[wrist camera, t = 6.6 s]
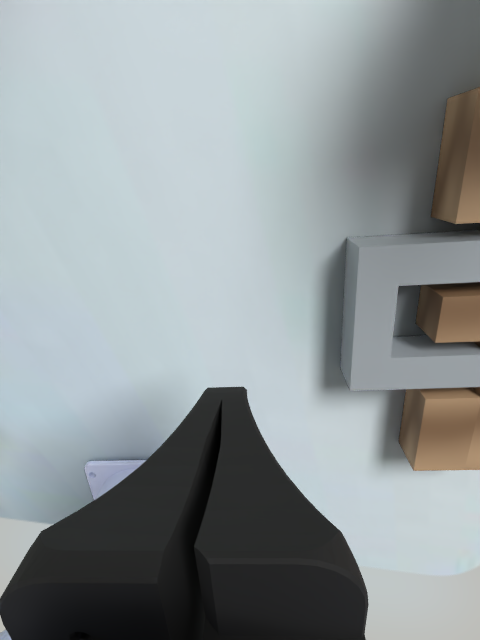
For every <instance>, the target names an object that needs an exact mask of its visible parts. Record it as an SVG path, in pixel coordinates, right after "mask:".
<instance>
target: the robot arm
mask: <svg viewBox="0 0 480 640" xmlns="http://www.w3.org/2000/svg"><path fill="white" fill-rule="evenodd" d="M84 470H85V473H86V476H87V479H88V483H89V486H90V489H91V492H92V496H93V499H94V501H92V502H91V503H89V504H88V505H86V506H85V507H83V508H81V509H80V510H78V511H77V512H75V513H73V514H71V515H70V516H68V517H66V518H64V519H63V520H61V521H59V522H57V523H56V524H54V525H52V526H50V527H49V528H47V529H45V530H43V531H41V533H40V534H39V536H38V537H37V539H36V540H35V542H34V543H33V545H32V546H31V547H30V549H29V551H28V552H27V554H26V556H25V557H24V559H23V560H22V562H21V564H20V566H19V567H18V569H17V571H16V573H15V574H14V576H13V578H12V579H11V581H10V583H9V584H8V586H7V588H6V590H5V591H4V593H3V595H2V596H1V598H0V615H1V618H2V622H3V625H4V626H5V628H6V630H4V631H3V632H1V633H0V640H365V635H364V633H365V625H366V618H367V610H368V595H367V590H366V587H365V583H364V581H363V578H362V575H361V572H360V570H359V567H358V565H357V563H356V560H355V558H354V556H353V554H352V552H351V550H350V548H349V546H348V544H347V542H346V540H345V538H344V536H343V534H342V532H341V531H340V530H338V529H337V528H336V527H335V526H334V525H333V524H332V523H331V522H330V521H328V520H327V519H326V518H325V517H324V516H323V515H322V514H321V513H320V512H319V511H318V510H317V509H316V508H315V507H314V506H313V505H312V504H311V503H310V502H309V501H308V499H307V498H306V497H305V496H304V495H303V494H302V493H301V491H300V490H299V489H298V488H297V487H296V486H295V484H294V483H293V482H292V481H291V480H290V478H289V477H288V476H287V475H286V473H285V472H284V470H283V469H282V468H281V466H280V465H279V463H278V462H277V460H276V459H275V457H274V456H273V454H272V453H271V451H270V449H269V448H268V446H267V444H266V443H265V441H264V439H263V437H262V435H261V433H260V431H259V429H258V427H257V425H256V422H255V420H254V418H253V415H252V413H251V410H250V407H249V403H248V399H247V390H246V389H245V388H244V387H219V388H207V389H206V390H205V391H204V393H203V394H202V396H201V397H200V399H199V400H198V401H197V403H196V404H195V406H194V407H193V408H192V410H191V411H190V412H189V414H188V415H187V416H186V418H185V419H184V420H183V421H182V423H181V424H180V425H179V426H178V428H177V429H176V430H175V431H174V432H173V433H172V434H171V436H170V437H169V438H168V439H167V440H166V441H165V442H164V443H163V444H162V446H161V447H160V448H159V449H158V450H157V451H156V452H155V453H154V454H153V455H152V456H150V457H149V458H148V459H147V460H115V461H89V462H87V464H86V465H85V467H84Z"/></svg>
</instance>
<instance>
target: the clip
mask: <svg viewBox="0 0 480 640" xmlns="http://www.w3.org/2000/svg"><path fill="white" fill-rule="evenodd" d="M468 282H480V230H468V231H451V232H434V233H416V234H399V235H382V236H365V237H347V246H346V266H345V285H344V305H343V325H342V344H341V364H340V368H341V371H342V373H343V375H344V378H345V380H346V382H347V385H348V387H349V390H350V391H365V390H397V389H429V388H461V387H480V347H479V346H478V345H476V344H475V343H474V342H447V343H435V342H434V341H433V340H432V339H431V338H430V337H429V336H428V335H422V336H398V337H393V332H394V323H395V314H396V305H397V296H398V287H399V286H407V285H427V284H448V283H468Z"/></svg>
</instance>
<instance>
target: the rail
mask: <svg viewBox="0 0 480 640" xmlns="http://www.w3.org/2000/svg"><path fill="white" fill-rule="evenodd" d="M431 217H433V218H437V219H440V220H444V221H447V222H451V223H454V224H464V223H480V87H478V88H476V89H473V90H470V91H467V92H464V93H462V94H459V95H456V96H453V97H450V98H448V99H447V106H446V113H445V120H444V127H443V134H442V141H441V148H440V155H439V162H438V169H437V176H436V183H435V190H434V197H433V204H432V211H431ZM416 324H417V325H418V326H419V327H420V328H421V329H422V330H423V331H424V332H425V333H426V334H427V335H428V336H429V337H430V338H431V339H432V340H433V341H434V342H435V343H447V342H474V343H475V344H476V345H478V346H479V347H480V282H468V283H448V284H427V285H421V288H420V295H419V302H418V309H417V316H416ZM399 444H400V445H401V447H402V449H403V451H404V453H405V455H406V457H407V459H408V461H409V463H410V465H411V467H412V469H413V471H422V470H480V387H461V388H429V389H406V393H405V400H404V407H403V414H402V421H401V428H400V435H399Z"/></svg>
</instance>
